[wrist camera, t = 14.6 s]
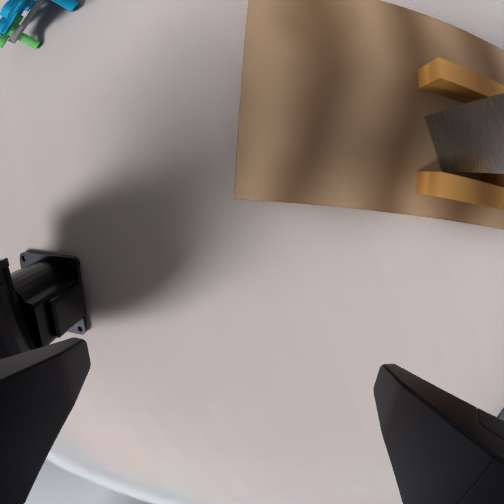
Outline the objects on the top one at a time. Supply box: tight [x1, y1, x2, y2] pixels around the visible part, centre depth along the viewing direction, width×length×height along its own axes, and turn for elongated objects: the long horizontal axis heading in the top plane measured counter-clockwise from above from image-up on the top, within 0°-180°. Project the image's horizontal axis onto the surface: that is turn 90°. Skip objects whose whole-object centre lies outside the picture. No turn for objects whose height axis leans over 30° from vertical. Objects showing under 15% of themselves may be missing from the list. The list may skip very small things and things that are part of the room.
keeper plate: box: [234, 0, 504, 229], centre depth 16 cm, size 22×16×4 cm
